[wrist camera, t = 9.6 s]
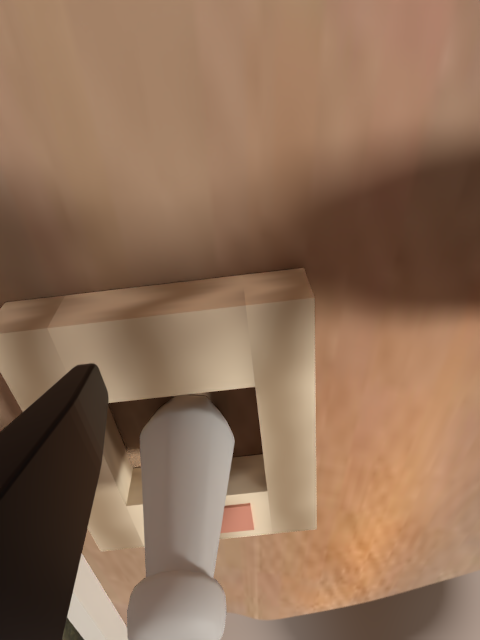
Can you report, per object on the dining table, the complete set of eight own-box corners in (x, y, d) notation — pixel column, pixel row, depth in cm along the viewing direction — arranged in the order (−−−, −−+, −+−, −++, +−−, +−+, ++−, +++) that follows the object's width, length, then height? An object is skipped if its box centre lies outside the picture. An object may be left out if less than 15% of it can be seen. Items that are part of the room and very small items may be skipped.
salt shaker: (153, 447, 30) (119, 680, 20) (136, 387, 27) (84, 626, 16) (236, 440, 30) (248, 669, 20) (229, 379, 27) (238, 613, 16)
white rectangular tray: (58, 514, 34) (45, 552, 32) (130, 633, 47) (126, 667, 45) (-93, 530, 34) (-117, 569, 32) (21, 644, 48) (10, 678, 45)
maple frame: (303, 267, 23) (315, 300, 20) (309, 492, 34) (317, 531, 32) (5, 302, 23) (-22, 338, 21) (108, 513, 34) (100, 554, 32)
